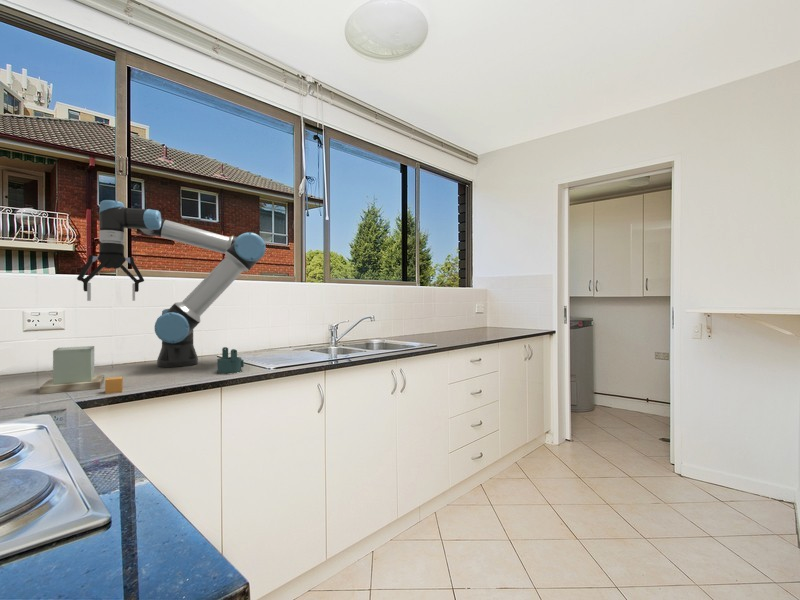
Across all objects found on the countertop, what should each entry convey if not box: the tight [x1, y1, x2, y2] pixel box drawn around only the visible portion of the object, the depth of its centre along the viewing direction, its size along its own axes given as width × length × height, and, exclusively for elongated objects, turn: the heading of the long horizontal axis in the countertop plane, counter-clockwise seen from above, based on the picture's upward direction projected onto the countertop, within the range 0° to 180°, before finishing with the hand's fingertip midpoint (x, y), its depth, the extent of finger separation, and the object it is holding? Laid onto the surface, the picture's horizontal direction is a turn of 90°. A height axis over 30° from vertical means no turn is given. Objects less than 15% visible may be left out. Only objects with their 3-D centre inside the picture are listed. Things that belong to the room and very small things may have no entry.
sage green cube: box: [52, 345, 95, 385], centre depth 128 cm, size 9×9×10 cm
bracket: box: [217, 346, 245, 375], centre depth 156 cm, size 9×9×9 cm
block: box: [104, 376, 124, 394], centre depth 122 cm, size 4×4×4 cm
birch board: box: [39, 374, 105, 395], centre depth 128 cm, size 14×14×2 cm
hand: (111, 300), depth 153 cm, fingers open, 13 cm apart
